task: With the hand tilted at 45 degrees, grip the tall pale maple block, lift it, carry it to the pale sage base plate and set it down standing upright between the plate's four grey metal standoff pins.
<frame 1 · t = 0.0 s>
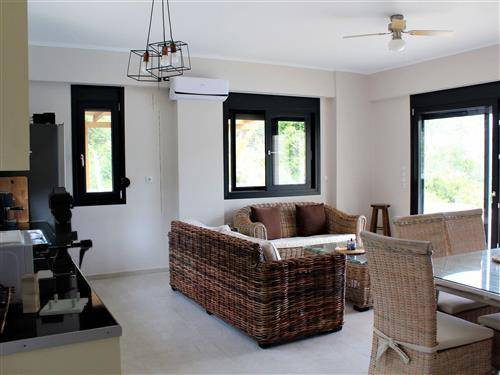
hand: (66, 270, 168), 15 cm above the counter, tool pointing down, fingers open, 9 cm apart
phone case: (45, 277, 228), on the counter
base plate: (65, 307, 176), on the counter
maple block: (31, 310, 175), on the counter
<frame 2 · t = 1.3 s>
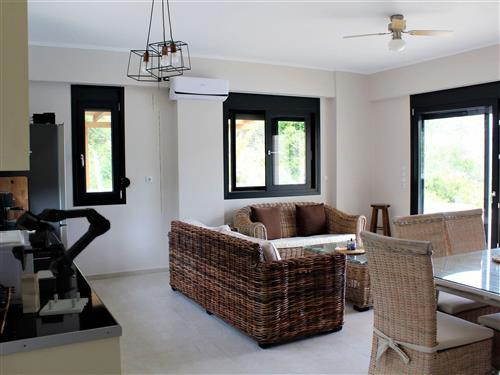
hand: (36, 269, 181), 13 cm above the counter, tool tilted 45°, fingers open, 9 cm apart
nothing on the counter moved.
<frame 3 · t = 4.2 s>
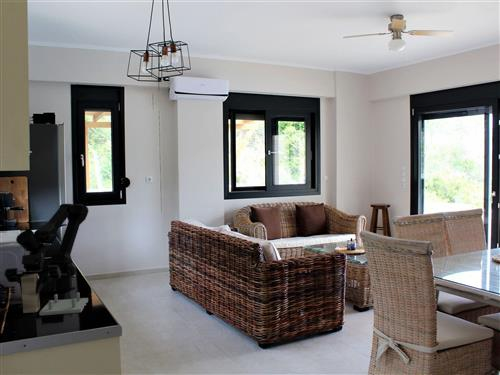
hand: (29, 293, 173), 7 cm above the counter, tool tilted 45°, fingers closed on maple block, 4 cm apart
maple block: (31, 310, 175), on the counter, touching gripper
everything else where it was.
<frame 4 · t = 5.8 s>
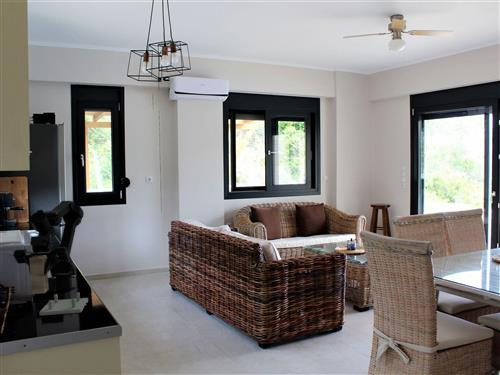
hand: (37, 274, 173), 13 cm above the counter, tool tilted 45°, fingers closed on maple block, 4 cm apart
maple block: (40, 291, 175), point 7 cm above the counter, touching gripper
everything else where it was.
when the fingers open (9 cm above the counter, at t = 7.7 s): maple block drops 1 cm, resting on base plate.
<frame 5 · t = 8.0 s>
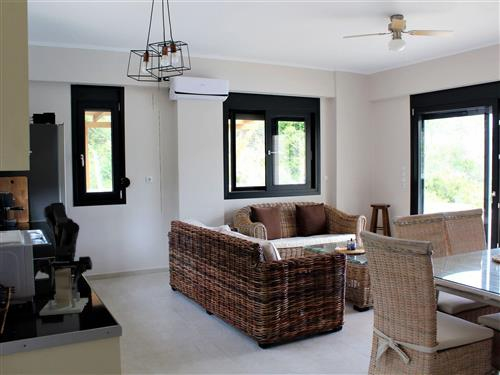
hand: (62, 284, 174), 9 cm above the counter, tool tilted 45°, fingers open, 8 cm apart
maple block: (64, 304, 176), point 1 cm above the counter, touching base plate
everything else where it was.
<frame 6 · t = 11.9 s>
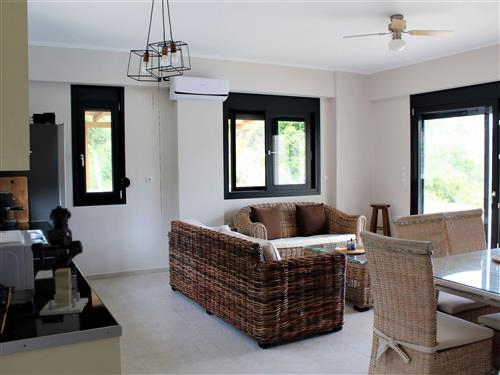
hand: (54, 266, 186), 14 cm above the counter, tool tilted 45°, fingers open, 9 cm apart
nothing on the counter moved.
at the end: maple block 0.0 cm off-centre on the base plate, point 1.2 cm above the base plate's base; maple block tilted 0°; the gripper is holding nothing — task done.
